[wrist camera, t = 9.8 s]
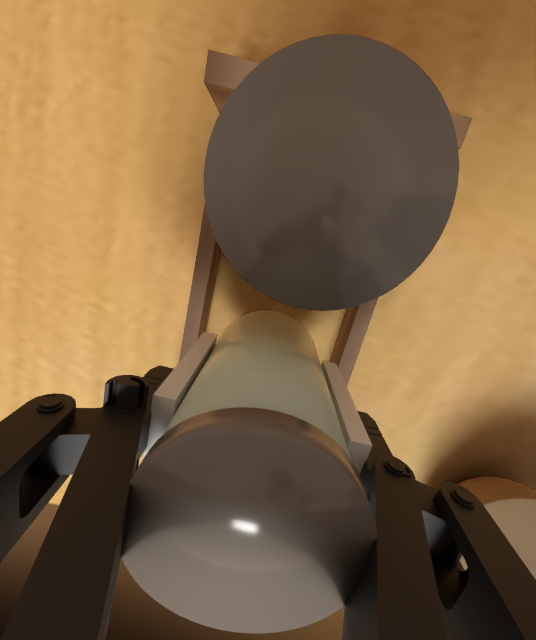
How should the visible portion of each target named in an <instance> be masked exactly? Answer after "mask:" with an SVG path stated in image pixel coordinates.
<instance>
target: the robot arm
mask: <svg viewBox="0 0 536 640" xmlns="http://www.w3.org/2000/svg"><path fill="white" fill-rule="evenodd" d="M216 338H217V335H214V334H210V333H205V332H203V333H202V335H201V336H200V337H199V338H198V340H197V341H196V342H195V343H194V345H193V346H192V347H191V348H190V350H189V351H188V352H187V353H186V355H185V356H184V357H183V358H182V359H181V361H180V362H179V363H178V364H177V366H176V367H175V368H174V369H172V368H168V367H164V366H157V367H155V368H153V369H150V370H149V371H148V372H147V373H146V374H145V376H144V377H139V376H134V375H121V376H116V377H114V378H111V379H109V380H108V381H107V382H106V383H105V392H104V403H103V407H102V408H76V402H75V399H73V398H72V397H71V396H68V395H65V394H47V395H43V396H39V397H36V398H34V399H32V400H30V401H28V402H27V403H26V404H24V405H23V406H21V407H20V408H19V409H17V410H16V411H15V412H13V413H12V414H10V415H9V416H8V417H6V418H5V419H4V420H2V421H1V422H0V563H1V562H2V560H3V559H4V558H5V556H6V555H7V554H8V552H9V551H10V550H11V549H12V548H13V546H14V545H15V544H16V543H17V541H18V540H19V539H20V537H21V536H22V535H23V534H24V532H25V531H26V530H27V529H28V527H29V526H30V525H31V524H32V522H33V521H34V520H35V518H36V517H37V516H38V515H39V513H40V512H41V511H42V510H43V508H44V507H45V506H46V505H47V503H48V502H49V501H50V499H51V498H52V497H53V496H54V494H55V493H56V492H57V491H58V489H59V488H60V487H61V486H62V484H63V483H64V482H65V480H66V479H67V478H68V477H69V475H70V474H73V476H72V478H71V480H70V483H69V485H68V487H67V489H66V492H65V494H64V496H63V499H62V501H61V503H60V505H59V508H58V510H57V512H56V515H55V517H54V519H53V521H52V524H51V526H50V528H49V531H48V533H47V535H46V537H45V540H44V542H43V544H42V546H41V549H40V551H39V554H38V556H37V558H36V560H35V562H34V565H33V567H32V569H31V572H30V574H29V576H28V579H27V581H26V583H25V585H24V587H23V590H22V592H21V594H20V597H19V599H18V601H17V603H16V606H15V608H14V610H13V613H12V615H11V617H10V619H9V622H8V624H7V626H6V629H5V631H4V633H3V636H2V638H1V640H105V636H106V631H107V626H108V621H109V616H110V611H111V605H112V600H113V594H114V590H115V585H116V579H117V574H118V569H119V564H120V559H121V551H122V544H123V536H124V528H125V521H126V513H127V505H128V498H129V490H130V483H129V482H130V480H131V479H132V477H133V475H134V474H135V472H136V470H137V469H138V465H139V458H140V457H141V455H142V454H143V452H144V451H145V455H144V457H145V456H146V454H147V453H148V451H149V449H150V448H151V447H152V446H153V445H154V443H155V442H156V441H157V440H158V439H159V438H160V437H161V436H162V435H163V433H164V431H165V430H166V428H167V426H168V425H169V423H170V421H171V420H172V418H173V416H174V415H175V413H176V411H177V409H178V408H179V406H180V404H181V403H182V401H183V399H184V398H185V396H186V394H187V393H188V391H189V389H190V388H191V386H192V384H193V383H194V381H195V379H196V378H197V376H198V374H199V373H200V371H201V369H202V367H203V366H204V364H205V362H206V361H207V359H208V357H209V356H210V354H211V352H212V351H213V349H214V347H215V343H216ZM321 366H322V370H323V373H324V376H325V379H326V382H327V385H328V389H329V392H330V395H331V398H332V401H333V404H334V408H335V411H336V414H337V417H338V420H339V423H340V426H341V430H342V433H343V436H344V439H345V442H346V445H347V449H348V452H349V455H350V458H351V460H352V461H353V463H354V465H355V467H356V469H357V470H358V472H359V475H360V477H361V480H362V483H363V486H364V489H365V492H366V495H367V498H368V501H369V504H370V507H371V510H372V513H373V516H374V519H375V522H376V528H377V534H378V538H376V540H375V543H374V545H373V547H372V549H371V551H370V553H369V556H368V558H367V560H366V562H365V564H364V566H363V569H362V571H361V573H360V575H359V577H358V579H357V581H356V584H355V586H354V588H353V590H352V592H351V594H350V597H349V599H348V601H347V603H346V605H345V609H344V623H343V636H342V640H536V579H535V578H534V577H533V575H532V574H531V572H530V571H529V569H528V568H527V567H526V565H525V564H524V562H523V561H522V559H521V558H520V557H519V555H518V554H517V552H516V551H515V549H514V548H513V547H512V545H511V544H510V542H509V541H508V539H507V538H506V537H505V535H504V534H503V532H502V531H501V529H500V528H499V527H498V525H497V524H496V522H495V521H494V519H493V518H492V517H491V515H490V514H489V512H488V511H487V509H486V508H485V507H484V505H483V504H482V503H481V502H480V500H479V499H478V498H477V497H476V496H475V495H473V494H472V493H471V492H470V491H469V490H467V489H466V488H464V487H462V486H460V485H458V484H455V483H453V482H446V481H445V482H442V483H441V484H440V486H439V488H438V490H436V489H433V488H431V487H429V486H427V485H425V484H423V483H420V482H418V481H417V480H415V476H414V474H413V471H412V470H411V469H410V468H409V467H408V465H406V464H405V463H404V462H402V461H401V460H399V459H398V458H396V457H394V456H393V455H392V453H391V451H390V449H389V448H388V446H387V444H386V442H385V440H384V438H383V437H382V434H381V432H380V431H379V428H378V426H377V424H376V422H375V421H374V420H373V419H372V418H371V417H370V416H369V415H368V414H367V413H364V412H359V411H357V409H356V407H355V405H354V403H353V400H352V398H351V396H350V394H349V391H348V389H347V387H346V385H345V382H344V380H343V378H342V375H341V373H340V371H339V369H338V366H337V364H335V363H331V362H327V361H323V362H322V365H321ZM462 555H463V557H464V559H465V561H466V564H467V567H468V568H467V569H466V570H465V569H464V568H463V566H462V564H461V562H460V559H461V557H462Z"/></svg>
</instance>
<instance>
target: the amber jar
mask: <svg viewBox="0 0 536 640" xmlns="http://www.w3.org/2000/svg"><path fill="white" fill-rule="evenodd" d="M458 173H459V154H458V143H457V138H456V132H455V128H454V124H453V121H452V118H451V115H450V112H449V110H448V107H447V105H446V103H445V101H444V99H443V97H442V95H441V93H440V92H439V90H438V89H437V87H436V86H435V85H434V83H433V82H432V80H431V79H430V77H429V76H428V75H427V74H426V73H425V72H424V71H423V70H422V69H421V68H420V67H419V66H418V65H417V64H416V63H415V62H413V61H412V60H411V59H410V58H408V57H407V56H406V55H404V54H403V53H402V52H400V51H398V50H396V49H394V48H392V47H391V46H389V45H387V44H384V43H381V42H379V41H376V40H373V39H370V38H365V37H360V36H354V35H326V36H319V37H313V38H309V39H306V40H303V41H300V42H296V43H294V44H292V45H290V46H288V47H285V48H283V49H281V50H279V51H277V52H276V53H274V54H273V55H271V56H270V57H268V58H267V59H265V60H264V61H262V62H261V63H260V64H259V65H258V66H257V67H255V68H254V69H253V70H252V71H251V72H250V73H249V74H248V75H247V76H246V77H245V78H244V79H243V80H242V81H241V83H240V84H239V85H238V86H237V87H236V88H235V90H234V91H233V93H232V94H231V96H230V97H229V99H228V100H227V102H226V103H225V105H224V106H223V109H222V111H221V113H220V115H219V117H218V119H217V121H216V123H215V126H214V129H213V131H212V134H211V137H210V140H209V144H208V149H207V154H206V158H205V168H204V196H205V203H206V210H207V214H208V218H209V222H210V225H211V228H212V231H213V233H214V236H215V238H216V241H217V243H218V245H219V247H220V248H221V250H222V252H223V254H224V256H225V257H226V258H227V260H228V261H229V263H230V264H231V265H232V267H233V268H234V269H235V270H236V271H237V272H238V273H239V274H240V276H241V277H242V278H243V279H244V280H245V281H247V282H248V283H249V284H250V285H251V286H253V287H254V288H255V289H257V290H258V291H260V292H261V293H263V294H264V295H266V296H268V297H270V298H272V299H274V300H276V301H278V302H280V303H283V304H286V305H289V306H293V307H296V308H302V309H307V310H321V311H327V310H340V309H345V308H350V307H354V306H357V305H360V304H363V303H366V302H369V301H371V300H373V299H376V298H378V297H380V296H382V295H384V294H385V293H387V292H389V291H390V290H392V289H393V288H395V287H396V286H398V285H399V284H400V283H402V282H403V281H404V280H405V279H406V278H408V277H409V276H410V275H411V274H412V273H413V272H414V271H415V270H416V269H417V268H418V267H419V266H420V265H421V264H422V263H423V261H424V260H425V259H426V257H427V256H428V255H429V254H430V252H431V251H432V249H433V248H434V246H435V245H436V243H437V241H438V240H439V238H440V236H441V234H442V232H443V230H444V228H445V226H446V224H447V221H448V219H449V216H450V213H451V210H452V207H453V204H454V200H455V195H456V190H457V185H458Z"/></svg>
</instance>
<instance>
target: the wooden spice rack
mask: <svg viewBox="0 0 536 640" xmlns="http://www.w3.org/2000/svg"><path fill="white" fill-rule="evenodd" d="M259 64H260V63H258V62H254V61H250V60H246V59H242V58H238V57H235V56H231V55H227V54H223V53H219V52H215V51H212V50H208V57H207V64H206V71H205V77H204V83H205V85H206V87H207V89H208V91H209V93H210V95H211V97H212V99H213V101H214V103H215V105H216V107H217V109H218V111H219V113H221V111H222V109H223V106H224V105H225V103H226V102H227V100H228V99H229V97H230V96H231V94H232V93H233V91H234V90H235V88H236V87H237V86H238V85H239V84H240V83H241V81H242V80H243V79H244V78H245V77H246V76H247V75H248V74H249V73H250V72H251V71H252V70H253V69H254V68H255V67H257V66H258V65H259ZM450 115H451V118H452V121H453V124H454V128H455V132H456V138H457V143H458V149H459V148H461V146H462V143H463V140H464V138H465V135H466V133H467V130H468V127H469V125H470V122H471V119H472V118H469V117H465V116H461V115H458V114H454V113H450ZM220 253H221V248H220V247H219V245H218V243H217V241H216V238H215V236H214V233H213V231H212V228H211V225H210V222H209V218H208V214H207V210H206V203H205V208H204V214H203V220H202V226H201V232H200V238H199V244H198V250H197V256H196V262H195V268H194V274H193V280H192V286H191V292H190V298H189V305H188V311H187V317H186V323H185V329H184V335H183V341H182V347H181V353H180V359H179V362H180V361H181V359H182V358H183V357H184V356H185V355H186V353H187V352H188V351H189V350H190V348H191V347H192V346H193V345H194V343H195V342H196V341H197V340H198V338H199V337H200V336H201V335H202V333H203V332H205V333H206V328H207V323H208V317H209V312H210V307H211V301H212V296H213V291H214V285H215V280H216V275H217V269H218V264H219V259H220ZM377 299H378V298H376V299H373V300H371V301H369V302H366V303H363V304H360V305H357V306H354V307H350V308H347V311H346V314H345V317H344V320H343V323H342V326H341V329H340V332H339V335H338V338H337V341H336V344H335V347H334V351H333V354H332V357H331V360H330V362H331V363H335V364H337V366H338V369H339V371H340V373H341V375H342V378H343V380H344V382H345V385H346V387H347V384H348V382H349V379H350V376H351V373H352V370H353V367H354V365H355V362H356V359H357V356H358V353H359V350H360V348H361V345H362V342H363V339H364V336H365V333H366V331H367V328H368V325H369V322H370V319H371V316H372V314H373V311H374V308H375V305H376V302H377Z"/></svg>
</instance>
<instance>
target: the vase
mask: <svg viewBox="0 0 536 640" xmlns="http://www.w3.org/2000/svg"><path fill="white" fill-rule="evenodd" d="M458 485H460V486H462V487H464V488H466V489H467V490H469V491H470V492H471V493H472V494H473V495H475V496H476V497H477V498H478V499H479V500H480V502H481V503H482V504H483V505H484V507H485V508H486V509H487V511H488V512H489V514H490V515H491V517H492V518H493V519H494V521H495V522H496V524H497V525H498V527H499V528H500V529H501V531H502V532H503V534H504V535H505V537H506V538H507V539H508V541H509V542H510V544H511V545H512V547H513V548H514V549H515V551H516V552H517V554H518V555H519V557H520V558H521V559H522V561H523V562H524V564H525V565H526V567H527V568H528V569H529V571H530V572H531V574H532V575H533V577H534V578H535V579H536V491H535V490H534V489H532V488H530V487H528V486H526V485H523V484H520V483H518V482H515V481H512V480H509V479H504V478H499V477H477V478H472V479H468V480H465V481H463V482H460V483H458ZM460 562H461V564H462V566H463V568H464V569H465V570H466V569H467V568H468V567H467V564H466V561H465V559H464V557H463V555H462V557H461V559H460Z"/></svg>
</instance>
